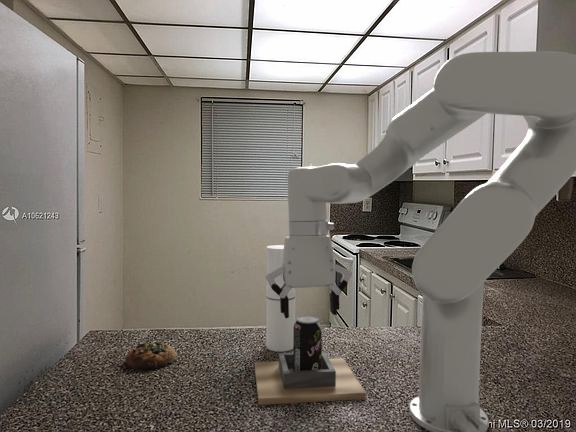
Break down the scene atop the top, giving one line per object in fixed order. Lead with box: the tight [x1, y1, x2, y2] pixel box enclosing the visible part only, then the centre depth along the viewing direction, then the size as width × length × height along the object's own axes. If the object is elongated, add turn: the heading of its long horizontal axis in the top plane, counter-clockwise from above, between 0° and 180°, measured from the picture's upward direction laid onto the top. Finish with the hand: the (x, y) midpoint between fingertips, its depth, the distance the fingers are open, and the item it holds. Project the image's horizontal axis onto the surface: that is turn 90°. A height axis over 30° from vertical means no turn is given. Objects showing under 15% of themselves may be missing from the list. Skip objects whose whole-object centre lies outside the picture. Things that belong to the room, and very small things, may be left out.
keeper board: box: [254, 350, 366, 406], centre depth 84 cm, size 16×20×4 cm
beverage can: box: [292, 314, 323, 371], centre depth 83 cm, size 6×6×12 cm
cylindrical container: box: [265, 244, 296, 353], centre depth 103 cm, size 7×7×25 cm
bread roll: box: [124, 341, 178, 371], centre depth 94 cm, size 11×11×5 cm
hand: (310, 314), depth 83 cm, fingers open, 9 cm apart
